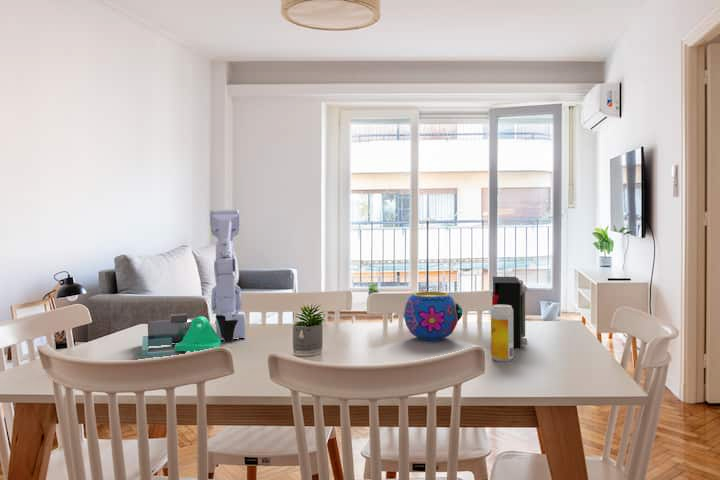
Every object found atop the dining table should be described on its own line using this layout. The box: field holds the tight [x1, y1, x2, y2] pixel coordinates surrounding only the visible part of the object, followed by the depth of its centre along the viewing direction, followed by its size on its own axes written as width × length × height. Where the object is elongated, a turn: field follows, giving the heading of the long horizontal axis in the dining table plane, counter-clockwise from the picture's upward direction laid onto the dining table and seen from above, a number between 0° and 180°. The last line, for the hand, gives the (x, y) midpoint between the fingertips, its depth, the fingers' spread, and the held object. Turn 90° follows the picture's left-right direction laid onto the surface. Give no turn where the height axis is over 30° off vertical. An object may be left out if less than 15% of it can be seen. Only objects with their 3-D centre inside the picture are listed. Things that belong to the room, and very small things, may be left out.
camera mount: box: [174, 315, 222, 352], centre depth 172 cm, size 12×8×10 cm, turn 85°
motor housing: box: [147, 312, 201, 343], centre depth 182 cm, size 16×8×10 cm, turn 110°
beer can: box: [490, 304, 514, 362], centre depth 157 cm, size 6×6×15 cm
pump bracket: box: [141, 335, 175, 360], centre depth 168 cm, size 8×21×4 cm, turn 20°
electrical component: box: [491, 276, 528, 350], centre depth 178 cm, size 18×10×20 cm, turn 168°
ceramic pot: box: [403, 291, 463, 342], centre depth 184 cm, size 18×18×15 cm
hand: (226, 339), depth 175 cm, fingers open, 7 cm apart
